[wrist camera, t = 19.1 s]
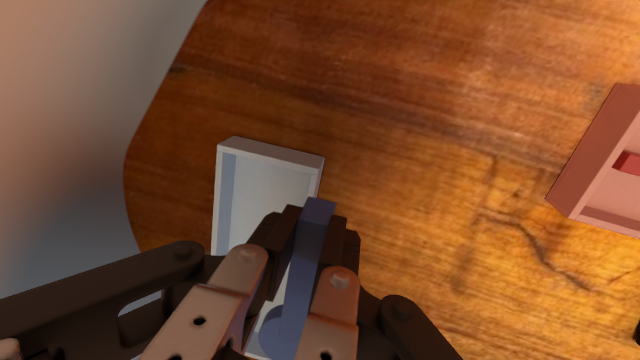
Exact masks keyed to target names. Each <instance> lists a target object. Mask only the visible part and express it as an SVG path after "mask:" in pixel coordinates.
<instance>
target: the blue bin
mask: <svg viewBox="0 0 640 360" xmlns="http://www.w3.org/2000/svg"><path fill="white" fill-rule="evenodd" d="M324 160H325V157H322V156H318V155H314V154H309V153H305V152H301V151H297V150H293V149H289V148H284V147H280V146H276V145H272V144H268V143H263V142H259V141H255V140H251V139H247V138H242V137H238V136H232V137H231V138H229V139H227V140H225V141H223V142H221V143H219V144H217V157H216V174H215V191H214V208H213V225H212V242H211V255H216V256H222V255H227V254H228V252H229V251H230V250H231V249H232V248H233V247H235V246H237V245H240V244H245V243H246V242H247V240H248V239H249V238H250V236H251V235H252V233H253V232H254V231H255V229H256V228H257V226H258V225H259V224H260V223H261V221H262V219H263V218H264V217H265V215H267V214H269V213H271V212H273V211H274V212H278V213H282V212H283V210H284V208H285V207H286V205H287V204H291V205H295V206H299V207H303V206H304V204H305V202H306V200H307V198H308V196H310V197H314V198H317V194H318V189H319V184H320V179H321V175H322V170H323V165H324ZM289 266H290V263H289V265H288V268H287V270H286V272H285V275H284V277H283V280H282V282H281V284H280V287H279V289H278V291H277V294H276V296H275V299H274V301H273V302H269V301H265V303H264V305H263V307H262V309H261V312H260V317H259V320H258V322H257V325H256V327H255V330H254V332H253V335H252V337H251V339H250V342H249V344H248V347H247V349H246V352H245V354H244V355H245V356H249V357H252V358H255V359H259V360H272V359H270V358H269V357H268V356H267V355H266V354H265V353H264V352H263V350H262V349H261V347H260V344H259V341H258V333H259V329H260V327H261V325H262V322H263V320H264V318H265V315H266V314H267V313H268V312H269V310H271V309H272V308H274V307H276V306H278V305H282V304H283V302H284V296H285V290H286V284H287V278H288V272H289Z"/></svg>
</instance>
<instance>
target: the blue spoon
mask: <svg viewBox="0 0 640 360" xmlns="http://www.w3.org/2000/svg"><path fill="white" fill-rule="evenodd" d="M335 208H336V203H335V202H331V201H327V200H323V199H318V198H314V197H310V196H308V198H307V200H306V202H305V204H304V206H303V209H302V212H301V214H300V216H299V218H298V223H297V229H296V235H295V241H294V246H293V252H292V258H291V261H290V266H289V272H288V278H287V284H286V290H285V296H284V302H283V304H282V305H278V306H276V307H274V308H272V309H271V310H269V312H268V313H267V314H266V315H265V318H264V320H263V322H262V325H261V327H260V329H259V333H258V341H259V344H260V347H261V349H262V350H263V352H264V353H265V354H266V355H267V356H268V357H269V358H270V359H272V360H294V357H295V354H296V350H297V347H298V344H299V341H300V337H301V334H302V331H303V328H304V324H305V321H306V318H307V315H308V307H309V303H310V298H311V293H312V289H313V284H314V280H315V275H316V270H317V266H318V261H319V257H320V254H321V250H322V247H323V243H324V240H325V236H326V233H327V229H328V225H329V222H330V218H331V215H332V214H333V215H334V213H335Z"/></svg>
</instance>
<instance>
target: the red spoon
mask: <svg viewBox="0 0 640 360" xmlns="http://www.w3.org/2000/svg"><path fill="white" fill-rule="evenodd" d="M611 168H614V169H616V170H618V171H621V172H625V173H629V174H632V175H636V176H640V154H638V153H634V152H630V151H626V150H623V151H622V152H621V154H620V155H619V157H618V158H617V160H616V161H615V163H614V164H613V165H612V167H611Z"/></svg>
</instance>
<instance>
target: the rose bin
mask: <svg viewBox="0 0 640 360" xmlns="http://www.w3.org/2000/svg"><path fill="white" fill-rule="evenodd" d="M623 150H626V151H630V152H634V153H638V154H640V85H631V84H621V83H617V84H616V85H615V87H614V88H613V90H612V91H611V93H610V95H609V96H608V98H607V100H606V101H605V103H604V104H603V106H602V108H601V109H600V111H599V112H598V114H597V116H596V117H595V119H594V121H593V122H592V124H591V125H590V127H589V129H588V130H587V132H586V133H585V135H584V137H583V138H582V140H581V142H580V143H579V145H578V146H577V148H576V150H575V151H574V153H573V155H572V156H571V158H570V159H569V161H568V163H567V164H566V166H565V167H564V169H563V171H562V172H561V174H560V176H559V177H558V179H557V180H556V182H555V184H554V185H553V187H552V189H551V190H550V192H549V193H548V195H547V197H546V198H545V200H546V201H547V202H549V203H550V204H551V205H552V206H554V207H555V208H556V209H557V210H559V211H560V212H561V213H562V214H563V215H565V216H566V217H567V218H569V219H573V220H576V221H579V222H583V223H586V224H590V225H593V226H596V227H600V228H603V229H607V230H610V231H614V232H617V233H621V234H624V235H628V236H631V237H634V238H638V239H640V176H636V175H632V174H629V173H625V172H621V171H618V170H616V169H614V168H611V167H612V165H613V164H614V163H615V161H616V160H617V158H618V157H619V155H620V154H621V152H622V151H623Z"/></svg>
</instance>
